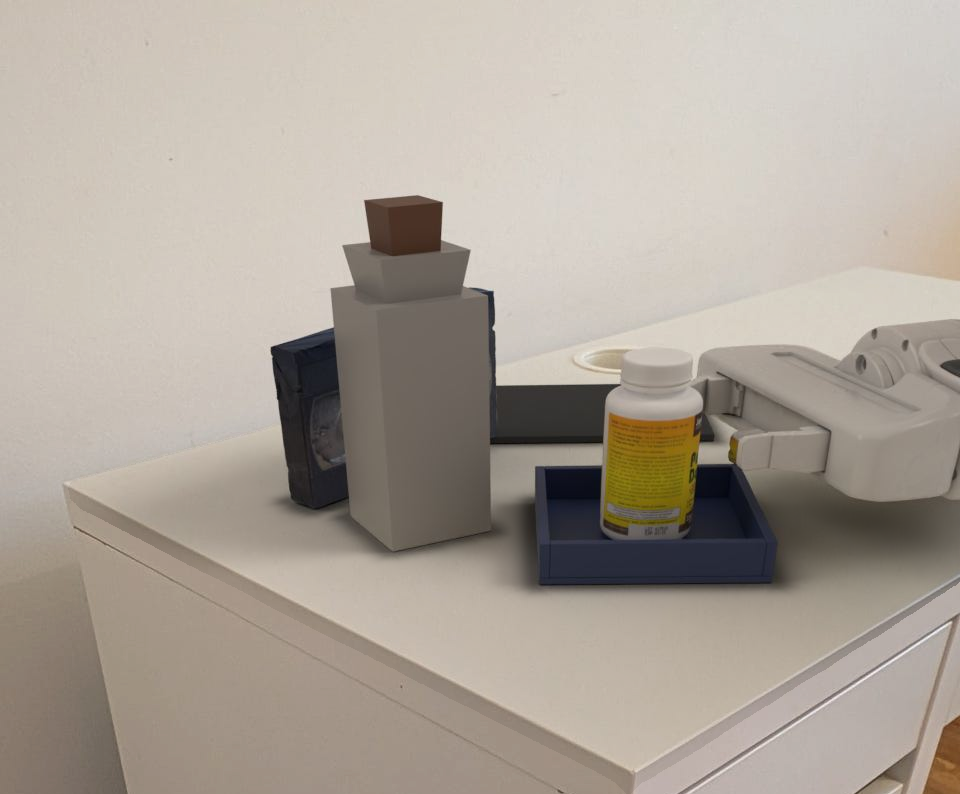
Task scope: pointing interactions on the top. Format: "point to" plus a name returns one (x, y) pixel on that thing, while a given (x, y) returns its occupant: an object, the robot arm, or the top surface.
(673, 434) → the supplement bottle
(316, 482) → the vhs cassette tape
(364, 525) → the perfume bottle
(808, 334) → the top surface
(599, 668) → the top surface
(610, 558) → the box
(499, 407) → the mat
